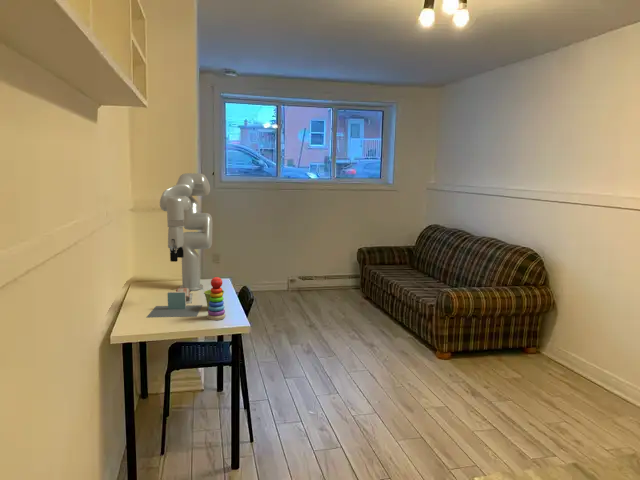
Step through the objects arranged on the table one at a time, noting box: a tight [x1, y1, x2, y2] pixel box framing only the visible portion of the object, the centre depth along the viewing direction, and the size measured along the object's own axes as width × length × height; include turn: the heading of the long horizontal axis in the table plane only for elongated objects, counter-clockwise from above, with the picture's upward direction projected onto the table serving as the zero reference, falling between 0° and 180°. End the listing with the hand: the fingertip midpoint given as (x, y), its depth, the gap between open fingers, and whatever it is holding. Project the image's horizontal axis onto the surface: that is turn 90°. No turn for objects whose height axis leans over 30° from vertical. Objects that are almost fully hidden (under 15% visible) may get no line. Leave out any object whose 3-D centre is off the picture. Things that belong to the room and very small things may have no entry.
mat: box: [146, 304, 203, 319], centre depth 223 cm, size 18×22×1 cm
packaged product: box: [175, 287, 193, 305], centre depth 244 cm, size 18×5×10 cm
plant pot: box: [203, 289, 225, 311], centre depth 227 cm, size 9×9×9 cm
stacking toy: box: [206, 276, 226, 321], centre depth 213 cm, size 8×8×19 cm
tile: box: [167, 291, 187, 309], centre depth 227 cm, size 2×8×8 cm, turn 96°
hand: (177, 259), depth 228 cm, fingers open, 9 cm apart
